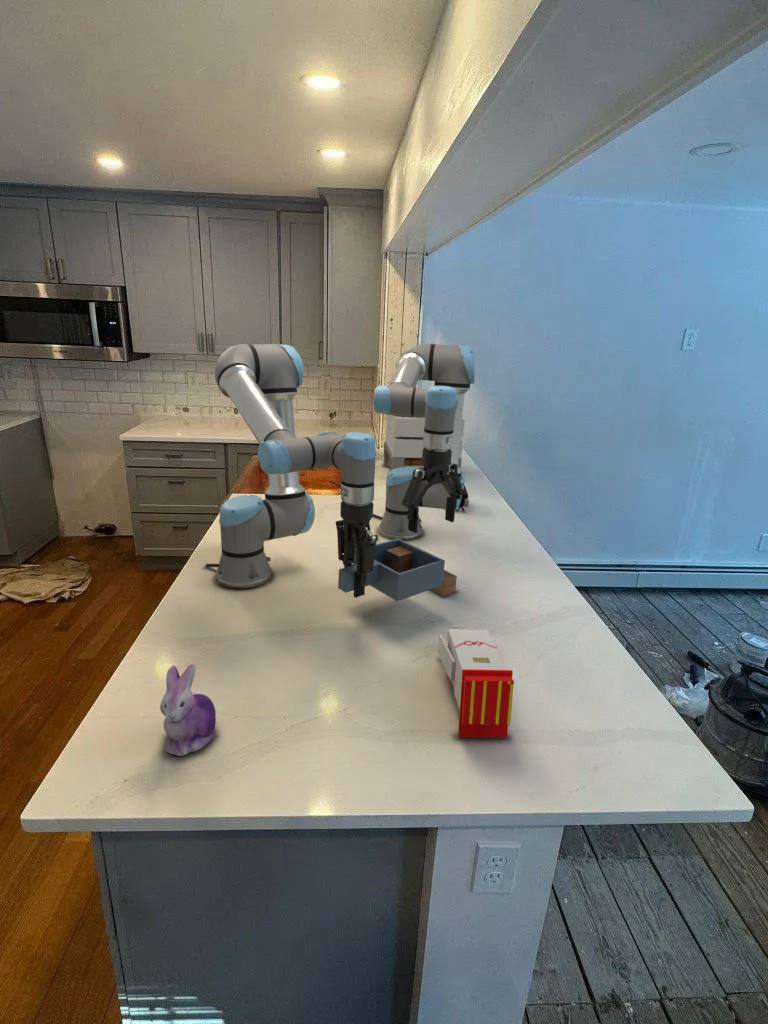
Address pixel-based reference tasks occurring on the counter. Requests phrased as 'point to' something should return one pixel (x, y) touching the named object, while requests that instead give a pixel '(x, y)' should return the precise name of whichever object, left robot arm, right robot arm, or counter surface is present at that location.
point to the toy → (478, 682)
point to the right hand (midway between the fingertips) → (431, 525)
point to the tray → (395, 584)
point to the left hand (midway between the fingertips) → (354, 592)
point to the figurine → (186, 714)
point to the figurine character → (464, 499)
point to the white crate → (407, 441)
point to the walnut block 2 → (446, 584)
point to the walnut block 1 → (399, 559)
